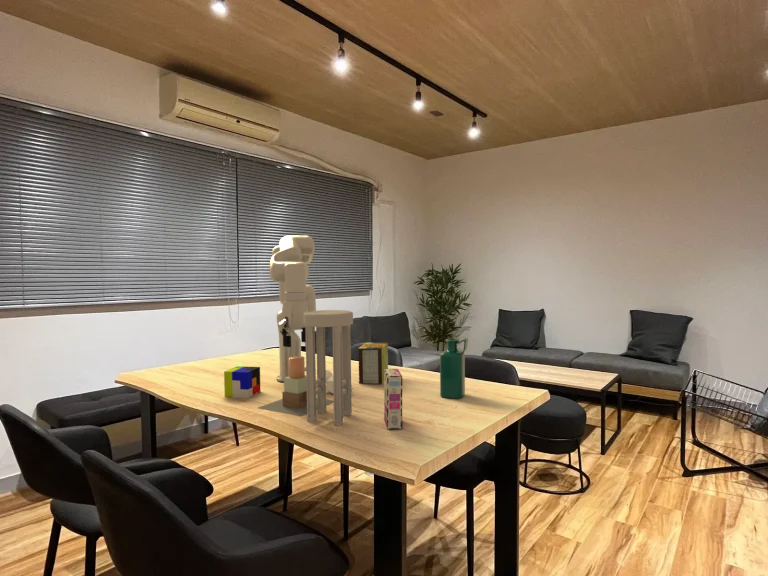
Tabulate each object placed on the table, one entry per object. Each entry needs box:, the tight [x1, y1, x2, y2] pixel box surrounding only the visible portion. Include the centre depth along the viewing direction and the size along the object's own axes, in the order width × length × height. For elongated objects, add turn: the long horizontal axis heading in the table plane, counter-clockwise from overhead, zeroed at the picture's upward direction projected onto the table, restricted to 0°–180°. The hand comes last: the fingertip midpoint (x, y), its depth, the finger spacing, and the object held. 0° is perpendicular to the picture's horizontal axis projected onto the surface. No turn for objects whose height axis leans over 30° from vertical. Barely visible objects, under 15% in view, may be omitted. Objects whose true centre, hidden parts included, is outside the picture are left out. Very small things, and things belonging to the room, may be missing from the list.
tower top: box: [283, 374, 307, 394], centre depth 165 cm, size 6×6×5 cm
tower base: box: [281, 390, 307, 409], centre depth 166 cm, size 8×8×5 cm
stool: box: [304, 309, 354, 426], centre depth 150 cm, size 16×16×35 cm
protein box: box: [357, 342, 389, 385], centre depth 203 cm, size 10×15×16 cm
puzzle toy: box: [223, 365, 261, 399], centre depth 182 cm, size 10×10×10 cm
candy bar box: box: [383, 368, 403, 430], centre depth 144 cm, size 11×5×16 cm, turn 5°
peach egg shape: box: [289, 355, 306, 379], centre depth 165 cm, size 6×6×7 cm
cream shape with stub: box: [326, 369, 354, 395], centre depth 182 cm, size 9×8×15 cm
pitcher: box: [439, 337, 469, 400], centre depth 175 cm, size 10×8×22 cm
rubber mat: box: [257, 397, 334, 417], centre depth 166 cm, size 20×20×1 cm
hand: (296, 344), depth 166 cm, fingers open, 9 cm apart
